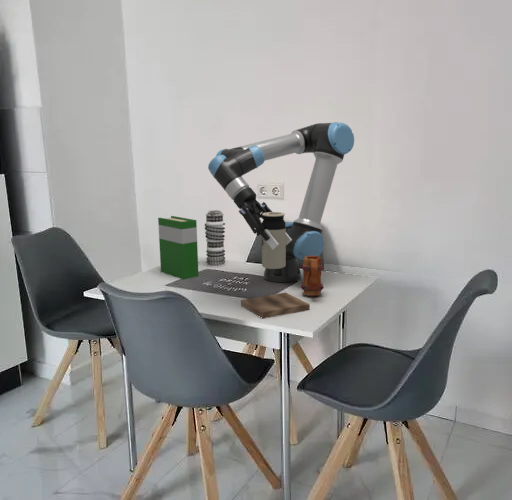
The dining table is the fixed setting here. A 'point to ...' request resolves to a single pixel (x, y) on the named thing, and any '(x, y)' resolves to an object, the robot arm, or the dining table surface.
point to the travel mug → (278, 231)
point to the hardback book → (178, 247)
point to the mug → (312, 276)
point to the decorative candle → (215, 239)
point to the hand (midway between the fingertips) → (282, 244)
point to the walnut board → (274, 305)
